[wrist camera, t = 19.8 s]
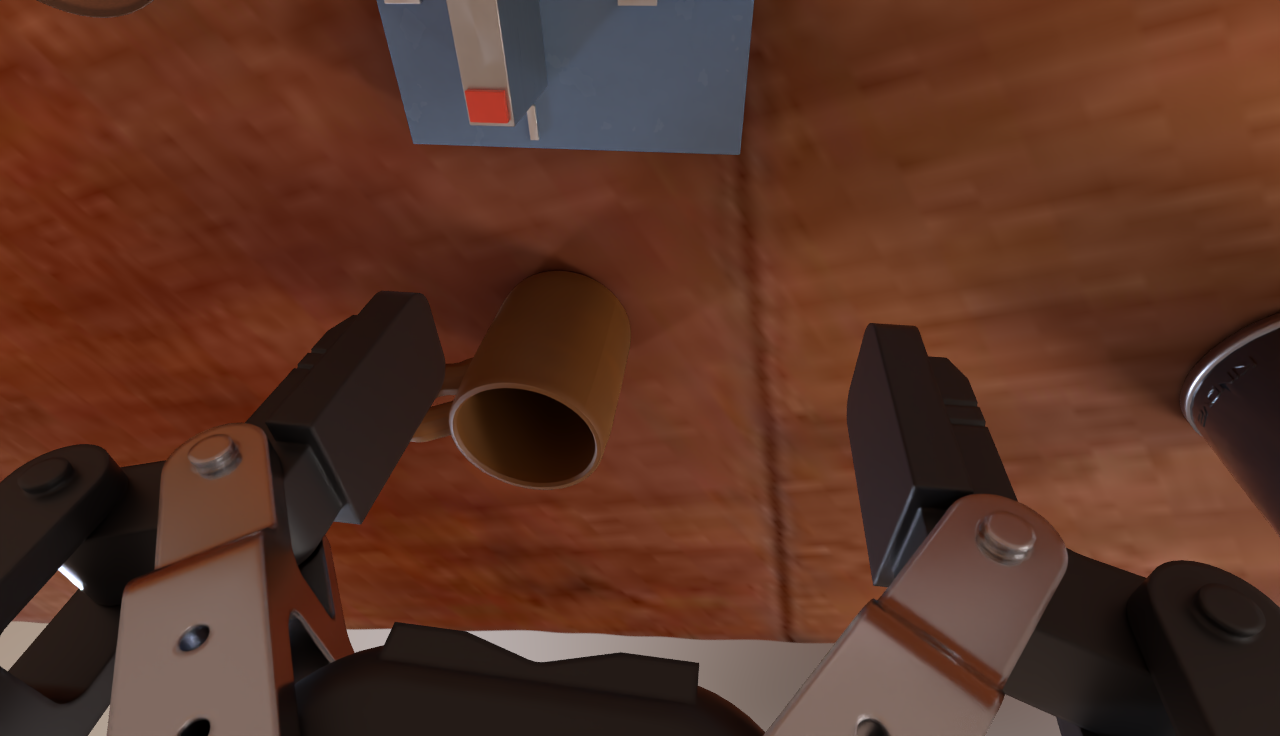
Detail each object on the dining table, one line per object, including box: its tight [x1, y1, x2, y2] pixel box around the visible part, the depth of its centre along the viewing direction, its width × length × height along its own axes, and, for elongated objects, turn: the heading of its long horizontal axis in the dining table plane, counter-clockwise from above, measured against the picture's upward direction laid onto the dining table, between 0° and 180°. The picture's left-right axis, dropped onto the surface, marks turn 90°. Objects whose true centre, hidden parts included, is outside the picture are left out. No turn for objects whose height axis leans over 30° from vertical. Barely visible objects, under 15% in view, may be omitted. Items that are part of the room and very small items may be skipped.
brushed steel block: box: [446, 0, 548, 127], centre depth 20 cm, size 6×2×5 cm, turn 1°
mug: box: [411, 271, 631, 490], centre depth 32 cm, size 12×8×9 cm, turn 98°
